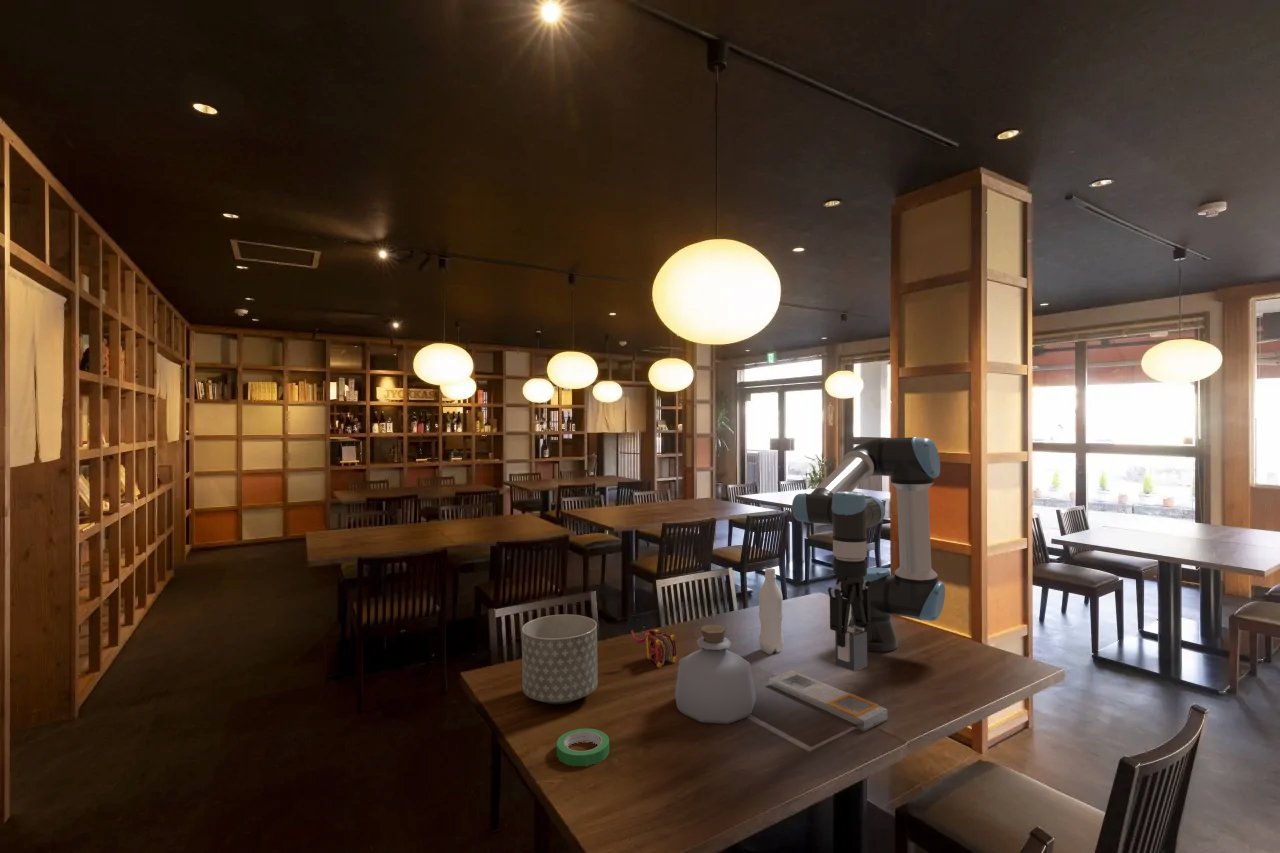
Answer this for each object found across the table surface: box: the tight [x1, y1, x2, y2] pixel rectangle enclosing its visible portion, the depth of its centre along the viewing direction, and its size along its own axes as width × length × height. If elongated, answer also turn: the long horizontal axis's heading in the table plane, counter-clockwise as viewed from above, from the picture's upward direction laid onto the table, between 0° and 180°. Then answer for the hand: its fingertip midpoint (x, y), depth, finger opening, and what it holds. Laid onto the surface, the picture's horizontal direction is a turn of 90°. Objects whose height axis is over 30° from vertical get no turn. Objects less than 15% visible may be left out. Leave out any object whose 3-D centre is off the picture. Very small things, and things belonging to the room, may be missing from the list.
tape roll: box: [556, 728, 610, 767], centre depth 123 cm, size 11×11×3 cm
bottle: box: [674, 624, 757, 725], centre depth 143 cm, size 20×20×19 cm
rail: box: [768, 669, 888, 732], centre depth 143 cm, size 9×28×3 cm, turn 35°
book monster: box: [630, 629, 678, 669], centre depth 170 cm, size 11×9×12 cm
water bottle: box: [758, 567, 785, 655], centre depth 178 cm, size 7×7×25 cm
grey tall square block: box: [834, 626, 868, 672], centre depth 137 cm, size 5×5×8 cm
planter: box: [521, 614, 599, 705], centre depth 149 cm, size 19×19×18 cm
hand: (851, 657), depth 137 cm, fingers closed on grey tall square block, 5 cm apart
